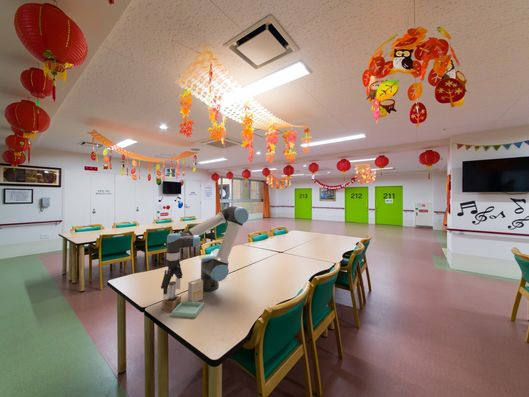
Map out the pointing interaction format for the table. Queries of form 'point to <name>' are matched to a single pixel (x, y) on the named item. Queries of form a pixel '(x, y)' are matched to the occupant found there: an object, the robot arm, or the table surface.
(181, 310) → the tray
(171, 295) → the cylinder
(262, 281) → the table surface
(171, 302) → the brown square holder
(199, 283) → the supplement box
